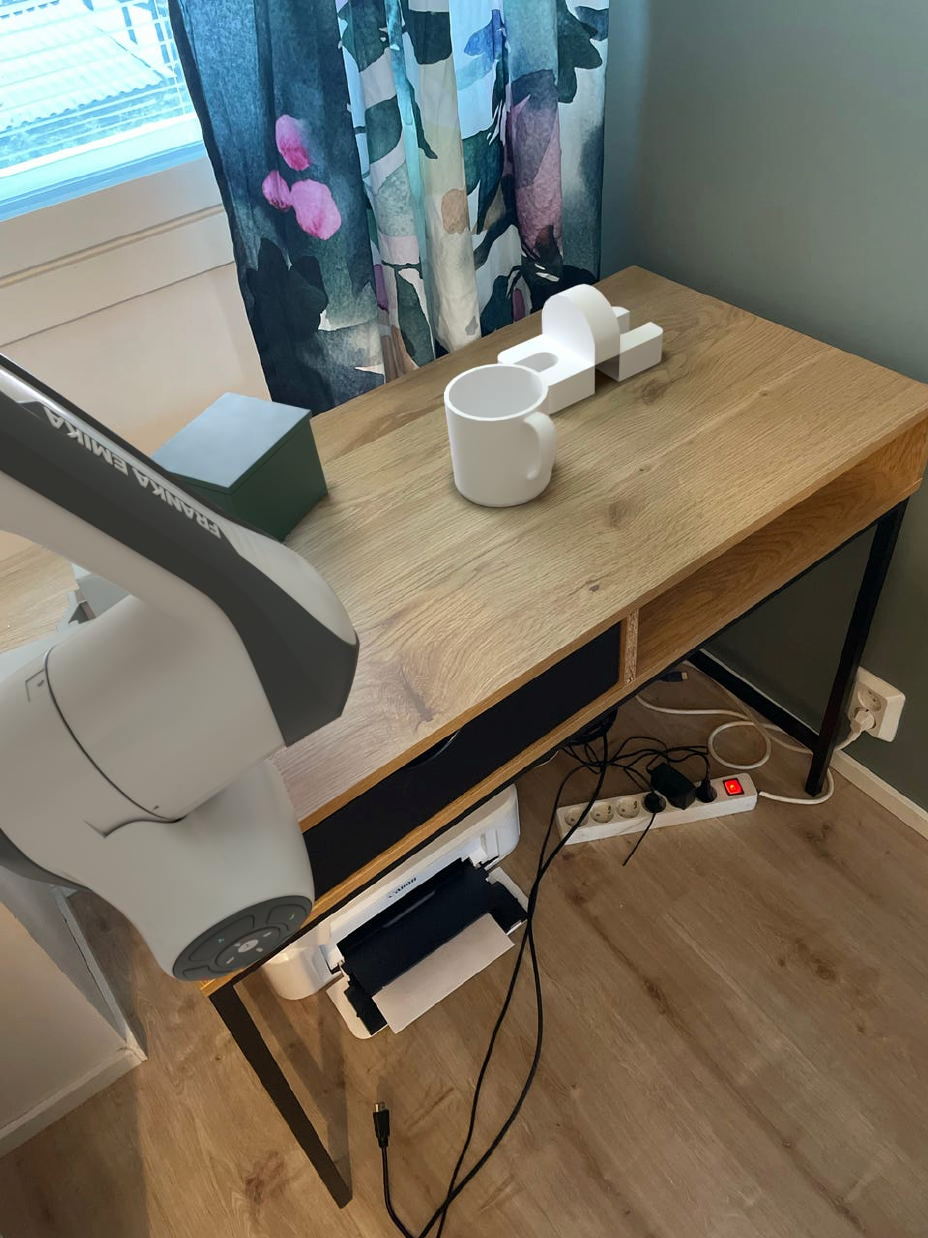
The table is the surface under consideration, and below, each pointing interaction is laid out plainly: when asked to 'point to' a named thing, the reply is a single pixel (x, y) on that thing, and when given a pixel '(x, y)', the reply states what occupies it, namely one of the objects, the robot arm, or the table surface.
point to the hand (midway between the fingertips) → (127, 579)
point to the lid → (229, 441)
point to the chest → (277, 487)
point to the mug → (500, 434)
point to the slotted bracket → (585, 345)
